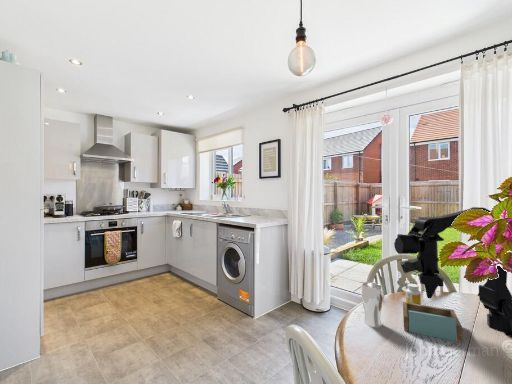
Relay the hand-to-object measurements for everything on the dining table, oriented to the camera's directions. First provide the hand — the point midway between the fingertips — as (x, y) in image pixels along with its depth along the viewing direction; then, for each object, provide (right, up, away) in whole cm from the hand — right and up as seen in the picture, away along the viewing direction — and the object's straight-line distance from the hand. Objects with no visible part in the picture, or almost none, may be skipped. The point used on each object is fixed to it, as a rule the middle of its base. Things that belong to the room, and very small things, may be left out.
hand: (429, 297), depth 89 cm
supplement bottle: (+6, -12, +19) cm, 23 cm away
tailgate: (-2, -11, -4) cm, 12 cm away
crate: (+1, -12, +1) cm, 12 cm away
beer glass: (-18, -13, +5) cm, 22 cm away
